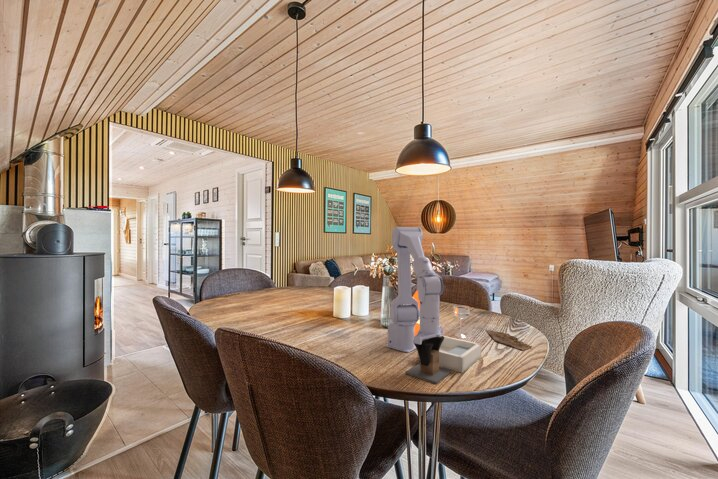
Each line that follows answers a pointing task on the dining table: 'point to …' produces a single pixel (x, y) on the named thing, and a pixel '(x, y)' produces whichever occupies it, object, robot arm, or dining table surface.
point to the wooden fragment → (508, 340)
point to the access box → (458, 354)
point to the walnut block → (431, 363)
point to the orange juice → (415, 296)
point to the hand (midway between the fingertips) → (428, 362)
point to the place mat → (431, 378)
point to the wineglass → (461, 316)
